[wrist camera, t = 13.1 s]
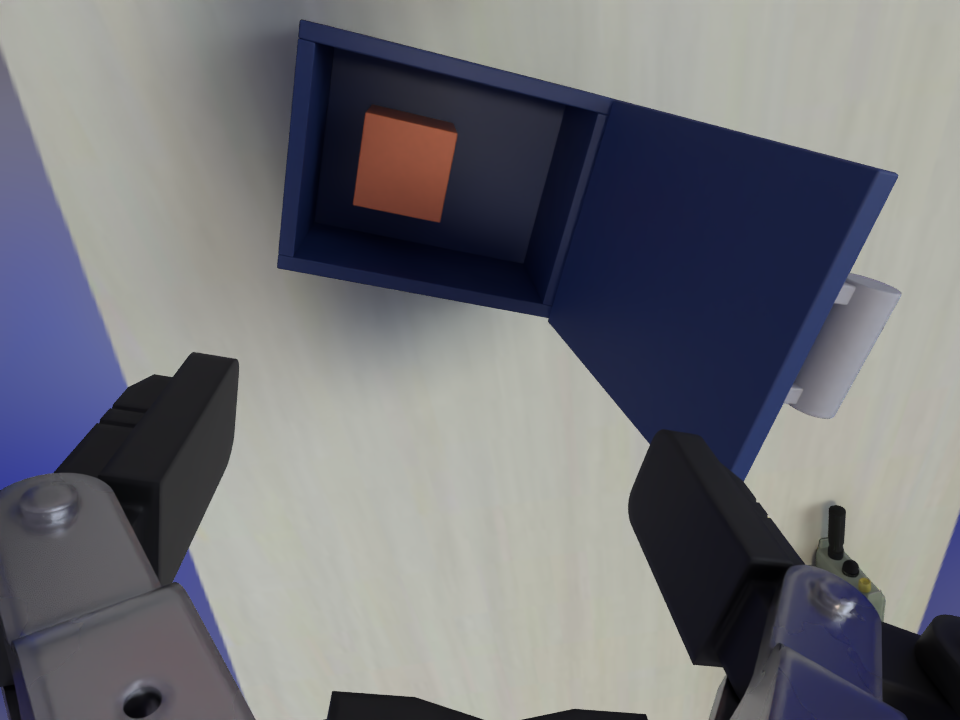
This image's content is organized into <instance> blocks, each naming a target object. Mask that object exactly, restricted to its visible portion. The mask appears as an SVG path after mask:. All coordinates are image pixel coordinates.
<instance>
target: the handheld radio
mask: <svg viewBox="0 0 960 720" xmlns="http://www.w3.org/2000/svg"><path fill="white" fill-rule="evenodd" d="M845 516H846V510H845V509H844V508H843V507H841V506H837V505H834V506H831V507H830V508H829V525H828V538H824V539H820V541H819V547H818V550H817V553H816V567H818V568H821V569H824V570H826V571H829V572H831V573H833V574H835V575H837V576H839V577H840V578H842V579H844V580H845V581H847V582H848V583H850V584H851V585H852V586H854V587H855V588H856V589H858V590H859V591H860V592H861V593H862V594H863V595H864V596H865V597H866V598H867V599H868V600H869V601H870V602H871V603H872V605H873V606H874V607H875V609H876V611H877V612H878V614H879V617H880V619H881V621H882V622H883V620H884V610H885V596H884V595H883V594H882V592H881V590H880V591H879V589H878V588H877V587H876V586H875V585H874V584H873V583H872V582H871V581H870V579H869V578H868V577H867V576H866V575H865V574H864V573H863V572H862V571H861V569H860V568H859V566H858V564H857V563H856V562H855V561H853V560H851V558H850V557H849V556H848V555H847V554H846V553H845V552H844V549H843V544H844V533H845Z"/></svg>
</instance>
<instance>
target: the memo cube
mask: <svg viewBox="0 0 960 720" xmlns="http://www.w3.org/2000/svg"><path fill="white" fill-rule="evenodd" d="M457 136H458V133H457V131H456V129H455V126H454V124H453V123H450V122H446V121H442V120H438V119H433V118H429V117H425V116H420V115H416V114H412V113H407V112H403V111H399V110H394V109H390V108H386V107H382V106H377V105H371V106H370V108H369V109H368V110H367V111H366V113H365V117H364V125H363V132H362V139H361V147H360V154H359V161H358V169H357V176H356V183H355V190H354V198H353V205H354V206H359V207H364V208H369V209H374V210H379V211H384V212H389V213H394V214H399V215H403V216H408V217H413V218H418V219H423V220H428V221H433V222H438V223H439V222H440V221H441V216H442V211H443V206H444V201H445V196H446V191H447V186H448V181H449V176H450V171H451V166H452V161H453V156H454V151H455V146H456V141H457Z"/></svg>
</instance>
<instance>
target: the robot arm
mask: <svg viewBox="0 0 960 720" xmlns="http://www.w3.org/2000/svg"><path fill="white" fill-rule="evenodd" d="M238 378H239V363H238V360H237V359H233V358H227V357H221V356H215V355H208V354H202V353H196V352H192V353H191V354H190V355H189V356H188V358H187V359H186V360H185V362H184V363H183V364H182V366H181V367H180V368H179V369H178V371H177V372H176V373H175V375H174V376H173V377H168V376H161V375H155V374H154V375H152V376H150V377H148V378H146V379H144V380H142V381H140V382H138V383H136V384H134V385H132V386H130V387H128V388H127V389H126V390H125V392H124V393H123V394H122V395H121V396H120V397H119V398H118V399H117V401H116V402H115V403H114V404H113V407H112V409H111V408H110V409H109V410H108V411H107V412H106V413H105V414H104V416H103V417H102V418H101V419H100V423H99V424H98V423H97V424H96V425H95V426H94V427H93V428H92V429H91V430H90V432H89V433H88V434H87V435H86V436H85V437H84V439H83V440H82V441H81V442H80V443H79V444H78V445H77V446H76V448H75V449H74V450H73V451H72V452H71V453H70V455H69V456H68V457H67V458H66V459H65V460H64V461H63V463H62V464H61V465H60V466H59V467H58V468H57V470H56V471H55V472H54V473H52V474H45V475H39V476H35V477H31V478H27V479H24V480H22V481H19V482H16V483H13V484H11V485H10V486H7V487H5V488H3V489H2V490H0V687H1V690H2V694H3V698H4V703H5V707H6V711H7V715H8V719H9V720H256V719H255V718H254V716H253V714H252V712H251V710H250V708H249V707H248V705H247V703H246V701H245V699H244V697H243V695H242V694H241V692H240V690H239V688H238V686H237V684H236V682H235V681H234V679H233V677H232V675H231V673H230V671H229V670H228V668H227V666H226V664H225V662H224V660H223V658H222V657H221V655H220V653H219V651H218V649H217V647H216V645H215V644H214V642H213V640H212V638H211V636H210V634H209V632H208V631H207V629H206V627H205V625H204V623H203V621H202V620H201V618H200V616H199V614H198V612H197V610H196V608H195V607H194V605H193V603H192V601H191V599H190V597H189V596H188V594H187V592H186V591H185V589H184V588H183V587H182V586H181V585H180V584H179V583H177V582H173V580H174V578H175V576H176V574H177V572H178V570H179V567H180V565H181V563H182V561H183V559H184V557H185V555H186V552H187V550H188V548H189V546H190V544H191V542H192V540H193V538H194V535H195V533H196V531H197V529H198V527H199V525H200V523H201V520H202V518H203V516H204V514H205V512H206V510H207V508H208V506H209V503H210V501H211V499H212V497H213V495H214V493H215V491H216V488H217V486H218V484H219V482H220V480H221V478H222V476H223V474H224V471H225V469H226V467H227V464H228V461H229V458H230V454H231V450H232V445H233V440H234V431H235V418H236V405H237V391H238ZM628 513H629V519H630V523H631V525H632V527H633V530H634V532H635V534H636V536H637V539H638V541H639V543H640V546H641V548H642V550H643V552H644V555H645V557H646V559H647V561H648V564H649V566H650V568H651V570H652V573H653V575H654V577H655V579H656V582H657V584H658V586H659V589H660V591H661V593H662V595H663V598H664V600H665V602H666V604H667V607H668V609H669V611H670V613H671V616H672V618H673V620H674V622H675V625H676V627H677V629H678V632H679V634H680V636H681V638H682V641H683V643H684V645H685V647H686V650H687V652H688V654H689V656H690V659H691V661H692V663H693V665H703V666H714V667H723V668H724V670H725V672H726V676H725V677H724V679H723V681H722V682H721V684H720V686H719V688H718V690H717V693H716V697H715V700H714V703H713V706H712V710H711V713H710V716H709V720H960V617H957V616H953V615H939V616H937V617H935V618H934V619H933V620H932V622H931V623H930V624H929V626H928V627H927V628H926V630H925V631H924V632H923V634H922V635H918V634H915V633H912V632H910V631H907V630H904V629H901V628H898V627H896V626H893V625H890V624H887V623H884V622H882V621H881V619H880V617H879V614H878V612H877V611H876V609H875V607H874V606H873V605H872V603H871V602H870V601H869V600H868V599H867V598H866V597H865V596H864V595H863V594H862V593H861V592H860V591H859V590H858V589H856V588H855V587H854V586H852V585H851V584H850V583H848V582H847V581H845V580H844V579H842V578H840V577H839V576H837V575H835V574H833V573H831V572H829V571H826V570H824V569H821V568H818V567H814V566H810V565H805V564H804V562H803V561H802V560H801V558H800V557H799V556H798V554H797V553H796V552H795V550H794V549H793V548H792V546H791V545H790V544H789V542H788V541H787V540H786V538H785V537H784V535H783V534H782V533H781V531H780V530H779V529H778V527H777V526H776V525H775V523H774V522H773V521H772V519H771V518H767V515H768V514H767V513H766V511H765V510H764V509H763V507H762V506H761V505H760V503H757V502H756V498H755V497H754V495H753V494H752V493H751V491H750V490H749V489H748V487H747V486H746V485H745V483H744V482H743V481H742V480H741V479H740V478H739V477H738V476H736V475H735V474H734V473H733V472H732V471H730V470H729V469H728V468H727V467H725V466H724V465H723V464H722V463H720V462H719V460H718V459H717V457H716V456H715V455H714V453H713V452H712V450H711V449H710V448H709V446H708V445H707V444H706V442H705V441H704V439H703V438H702V437H701V436H699V435H697V434H691V433H684V432H678V431H672V430H666V429H661V430H659V431H658V432H657V433H656V434H655V436H654V437H653V439H652V442H651V444H650V446H649V449H648V451H647V454H646V456H645V458H644V461H643V463H642V466H641V468H640V470H639V473H638V475H637V478H636V480H635V482H634V485H633V487H632V490H631V493H630V496H629V504H628ZM172 582H173V583H172ZM325 720H483V719H480V718H477V717H474V716H471V715H468V714H465V713H462V712H459V711H456V710H452V709H449V708H446V707H443V706H440V705H437V704H434V703H431V702H428V701H425V700H422V699H419V698H416V697H405V696H392V695H378V694H365V693H351V692H338V691H332V695H331V701H330V706H329V711H328V716H327V719H325ZM523 720H648V719H647V716H646V714H636V713H622V712H609V711H595V710H581V709H571V710H567V711H562V712H557V713H552V714H547V715H543V716H538V717H533V718H528V719H523Z"/></svg>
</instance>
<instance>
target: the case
mask: <svg viewBox="0 0 960 720" xmlns="http://www.w3.org/2000/svg"><path fill="white" fill-rule="evenodd" d="M298 37H299V38H300V39H298V44H297V55H296V66H295V77H294V88H293V99H292V110H291V121H290V132H289V142H288V153H287V164H286V175H285V186H284V197H283V208H282V219H281V230H280V240H279V251H278V254H279V255H278V263H277V268H280V269H285V270H290V271H296V272H301V273H307V274H312V275H318V276H323V277H328V278H334V279H339V280H345V281H350V282H356V283H361V284H366V285H372V286H377V287H383V288H388V289H394V290H399V291H404V292H410V293H415V294H421V295H426V296H432V297H437V298H442V299H448V300H453V301H459V302H464V303H470V304H475V305H480V306H486V307H491V308H497V309H502V310H508V311H513V312H519V313H524V314H529V315H535V316H540V317H546V318H549V316H550V313H551V310H552V306H553V303H554V300H555V296H556V293H557V289H558V286H559V283H560V279H561V276H562V273H563V269H564V266H565V263H566V259H567V256H568V253H569V249H570V246H571V243H572V239H573V236H574V233H575V229H576V226H577V223H578V219H579V216H580V213H581V209H582V206H583V203H584V199H585V196H586V192H587V189H588V186H589V182H590V179H591V176H592V172H593V169H594V166H595V162H596V159H597V156H598V152H599V149H600V146H601V142H602V139H603V136H604V132H605V129H606V126H607V122H608V119H609V116H610V112H611V109H612V106H613V102H614V100H616V99H612V98H609V97H605V96H601V95H597V94H594V93H590V92H586V91H582V90H579V89H575V88H571V87H567V86H563V85H559V84H555V83H551V82H547V81H543V80H539V79H536V78H532V77H528V76H524V75H520V74H516V73H512V72H508V71H504V70H500V69H496V68H492V67H488V66H484V65H481V64H477V63H473V62H469V61H465V60H461V59H457V58H453V57H449V56H445V55H441V54H437V53H433V52H430V51H426V50H422V49H418V48H414V47H410V46H406V45H402V44H398V43H394V42H390V41H386V40H382V39H378V38H375V37H371V36H367V35H363V34H359V33H355V32H351V31H347V30H343V29H339V28H335V27H331V26H327V25H323V24H319V23H315V22H310V21H306V20H300V24H299V35H298ZM371 105H377V106H382V107H386V108H390V109H394V110H399V111H403V112H407V113H412V114H416V115H420V116H425V117H429V118H433V119H438V120H442V121H446V122H450V123H453V124H454V126H455V129H456V131H457V133H458V136H457V141H456V146H455V151H454V156H453V161H452V166H451V171H450V176H449V181H448V186H447V191H446V196H445V201H444V206H443V211H442V216H441V221H440V222H439V223H438V222H433V221H428V220H423V219H418V218H413V217H408V216H403V215H399V214H394V213H389V212H384V211H379V210H374V209H369V208H364V207H359V206H354V205H353V198H354V190H355V183H356V176H357V169H358V161H359V154H360V147H361V139H362V132H363V125H364V117H365V113H366V111H367V110H368V109H369V108H370V106H371Z"/></svg>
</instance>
